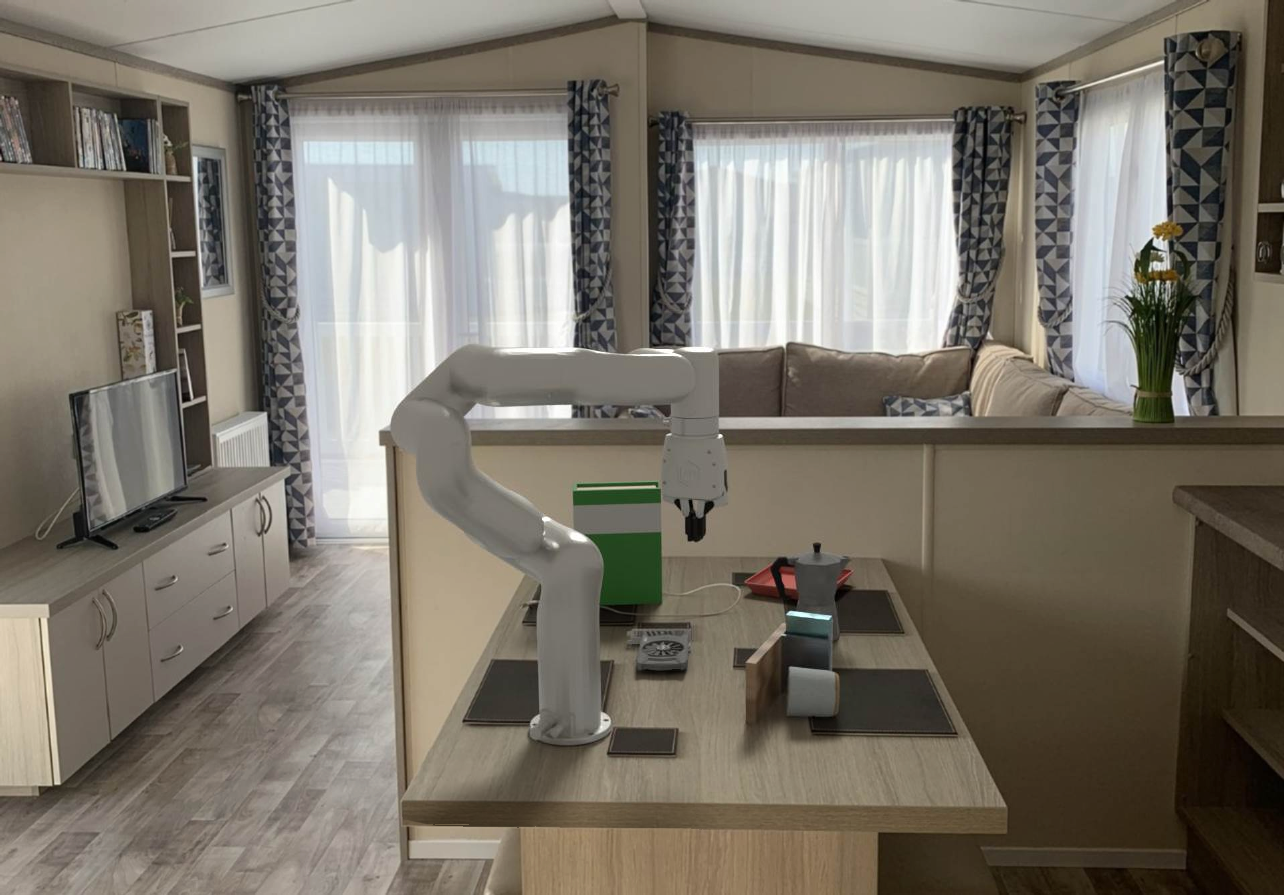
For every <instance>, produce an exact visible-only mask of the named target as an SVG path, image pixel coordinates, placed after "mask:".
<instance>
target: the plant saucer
mask: <svg viewBox="0 0 1284 895" xmlns="http://www.w3.org/2000/svg"><path fill="white" fill-rule="evenodd" d="M773 563H774V562H772V563H770V564H769V565H768V566H766V567H764V568H763V569H762V570H760V571H758V572H757V573H755V574H754V575H752V576H750V577H749V578H747V579H746V580H744V584H745V585H746V586H747V588H748V589H749V590H751V592H753V593H754V594H755V595H762V596H768V597H769V596H770V597H777V598H780V596H779V593H778V590H777V587H776V584H775V581H774V579H773V576H772V573H771V570H770V569H771V565H772V564H773ZM779 570H780V572H781V575H782V582H783V584H784V586H785V593H786V594H789V595H792V597H791V599H790V600H797V601H798V600H799V594H798V593H797V589H796V582H795V575H794V567H781V568H780V569H779ZM854 571H855V570H853V569H849V568H844V570H843V571H842V573H841V575H840V576H839V578H838V582H837V588H836V591H837V590H838V589H839V588H841V587H842V586H843V585H844V584H845V583H846V582H847V581H848V580H849V578H851V576H852V575H853V573H854Z"/></svg>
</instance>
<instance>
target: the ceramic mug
mask: <svg viewBox="0 0 1284 895" xmlns="http://www.w3.org/2000/svg"><path fill="white" fill-rule="evenodd" d="M840 692H841V690H840V676H839V674H838V673H837V672H835V671H833V670H832V671H828V670H817V669H808V668H799V667H789V669H788V681H787V694H786V716H787V717H802V718H803V717H809V718H810V717H812V716H815V717H814V718H816V717H817V718H830V717H835V716H837V714H839V713H838V712H839V706H840Z"/></svg>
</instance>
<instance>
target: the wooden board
mask: <svg viewBox="0 0 1284 895" xmlns="http://www.w3.org/2000/svg"><path fill="white" fill-rule="evenodd" d="M782 634H786V622H782V623H781V624H780V625H779V626H778V628H776V629H775V631H774V632H773V633H772V634H771V635H770V636H769V637H768V638H767V639H766V640H765V641H764V642H763V644H761V646H759V648H758V649H756V651H754V653H753V654H752V655H751V656H750V657H749V659H747V660H746V661H745V724H748V725H753V726H756V725H757V724H758V723H759V721H761V719H762V718H763V716H764V715H765V713H767V711H768V710H769V708H771V707H772V705H773V704H774V703H775V701H776V700H777V698H779V696H780V695H781V694H782V693H781V646H782Z"/></svg>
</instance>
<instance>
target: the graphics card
mask: <svg viewBox="0 0 1284 895" xmlns="http://www.w3.org/2000/svg"><path fill="white" fill-rule="evenodd" d="M648 632H649V634H650V635H648ZM653 632H654V634H655V635H653ZM658 632H659V633H660V634H659V633H658ZM665 632H666V633H665ZM669 632H670V633H671V634H670V633H669ZM691 632H692V631H691V628H689V629H688V628H633V629H631V630H628V631H627V634H626V636H627V637H631V639H627V645H628V644H629V646H633V645H632V644H640V645H638V646H639V647H638V652H637V659H636V668H637V670H638V671H643V670H645V669H649V670H652V671H673V670H672V669H681V670H680V671H683V670H686V669H687V666H688V664H689V652H690V651H689V650H691V646H692V640H691V638H692V637H691V634H692V633H691ZM691 651H692V650H691Z"/></svg>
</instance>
